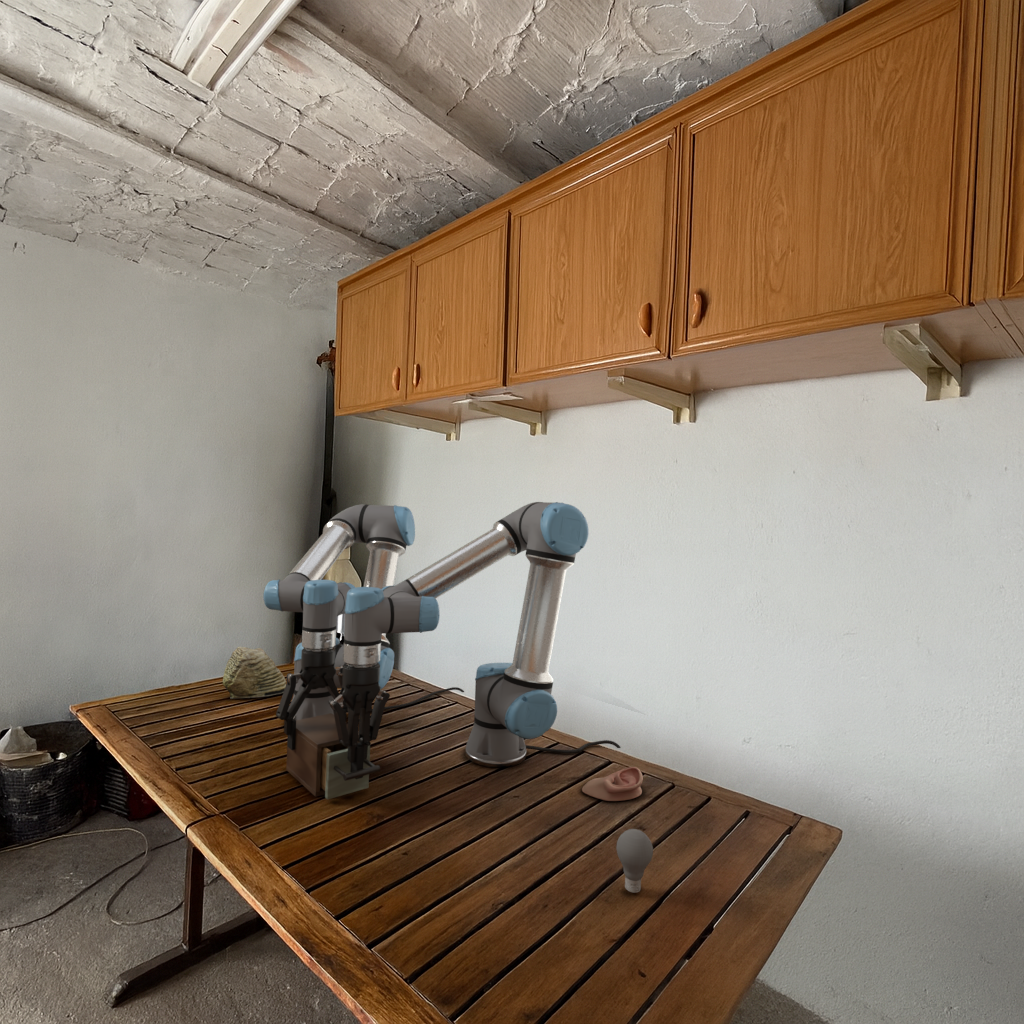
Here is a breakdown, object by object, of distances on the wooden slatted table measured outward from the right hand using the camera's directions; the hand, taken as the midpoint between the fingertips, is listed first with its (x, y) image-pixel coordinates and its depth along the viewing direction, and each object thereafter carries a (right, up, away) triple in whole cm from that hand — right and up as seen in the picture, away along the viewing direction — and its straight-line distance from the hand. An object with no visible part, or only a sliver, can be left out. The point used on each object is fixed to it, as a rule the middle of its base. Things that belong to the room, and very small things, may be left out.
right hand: (356, 775), depth 131 cm
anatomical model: (+55, -8, +11) cm, 57 cm away
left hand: (-13, +1, +15) cm, 21 cm away
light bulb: (+52, -9, -26) cm, 59 cm away
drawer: (-5, -5, +6) cm, 9 cm away
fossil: (-48, -3, +67) cm, 83 cm away
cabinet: (-11, -5, +12) cm, 17 cm away
